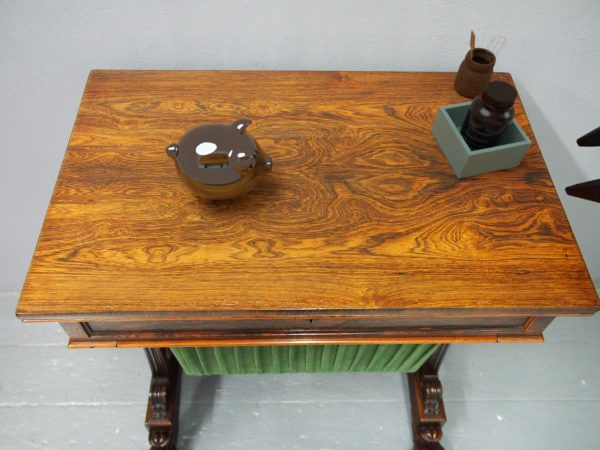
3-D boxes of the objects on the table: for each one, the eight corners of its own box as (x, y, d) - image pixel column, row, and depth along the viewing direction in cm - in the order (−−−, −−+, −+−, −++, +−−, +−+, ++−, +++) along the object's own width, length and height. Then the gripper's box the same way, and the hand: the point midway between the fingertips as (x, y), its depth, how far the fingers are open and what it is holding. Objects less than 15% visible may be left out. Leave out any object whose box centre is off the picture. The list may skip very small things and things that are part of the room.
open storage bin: (487, 120, 87) (498, 96, 83) (518, 166, 82) (532, 142, 77) (430, 131, 86) (439, 106, 81) (458, 178, 80) (469, 155, 75)
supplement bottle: (466, 125, 86) (491, 68, 76) (502, 144, 84) (533, 88, 74) (447, 148, 83) (470, 92, 73) (484, 168, 80) (513, 113, 70)
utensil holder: (489, 97, 91) (515, 40, 81) (457, 100, 90) (479, 43, 80) (478, 76, 94) (502, 19, 84) (447, 78, 93) (467, 21, 83)
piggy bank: (274, 215, 75) (273, 164, 65) (173, 218, 74) (157, 167, 64) (272, 158, 81) (271, 105, 71) (178, 161, 80) (165, 107, 70)
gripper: (710, 24, 54) (559, 74, 65) (707, 135, 44) (531, 171, 56) (735, 103, 58) (590, 137, 70) (736, 218, 49) (569, 236, 61)
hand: (571, 166), depth 64 cm, fingers open, 9 cm apart
